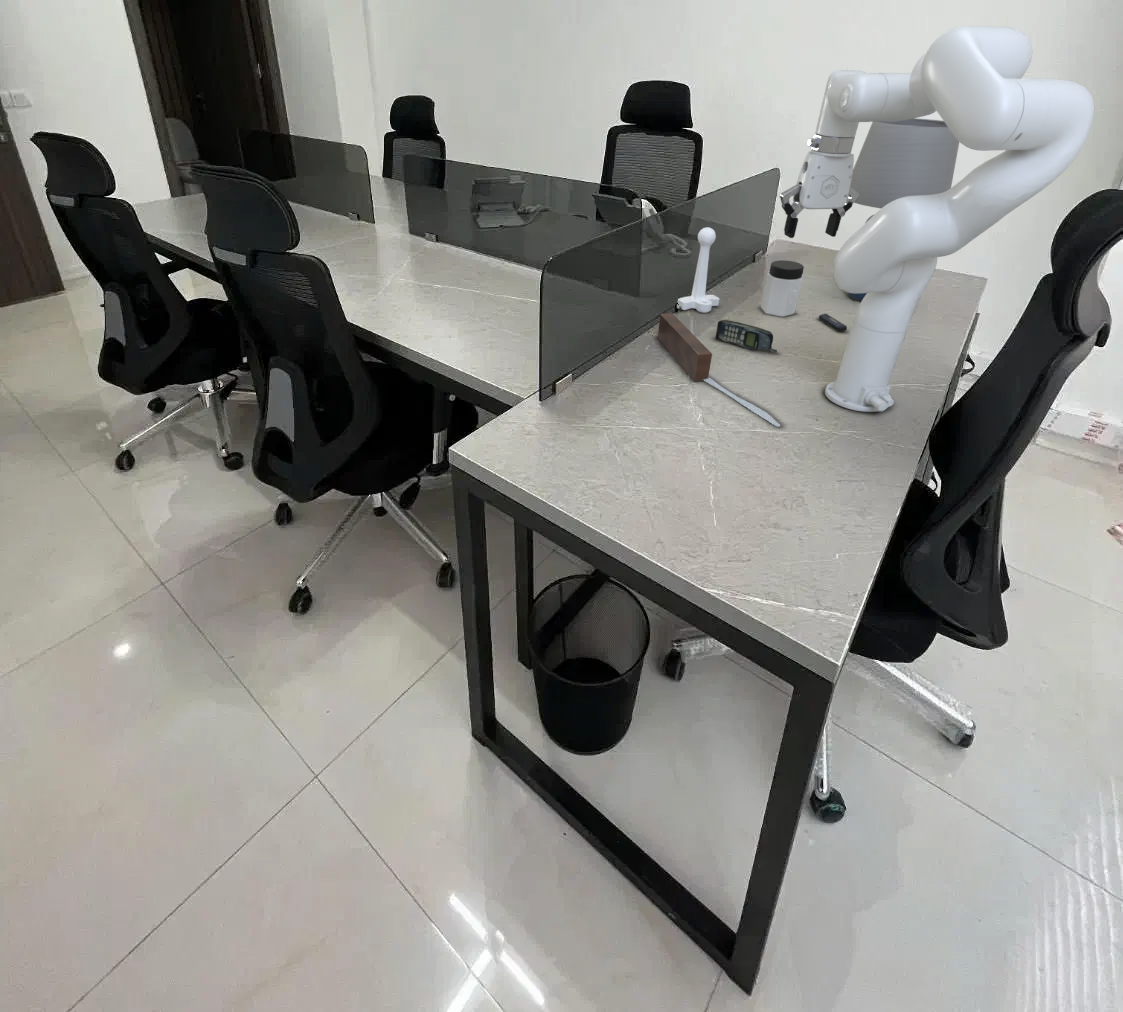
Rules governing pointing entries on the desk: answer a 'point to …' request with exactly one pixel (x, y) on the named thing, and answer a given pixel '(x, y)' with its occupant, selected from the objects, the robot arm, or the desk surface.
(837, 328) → the usb stick
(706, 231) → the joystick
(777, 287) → the jar
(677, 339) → the wooden block
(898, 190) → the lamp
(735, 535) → the desk surface
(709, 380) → the butter knife
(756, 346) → the mobile phone
